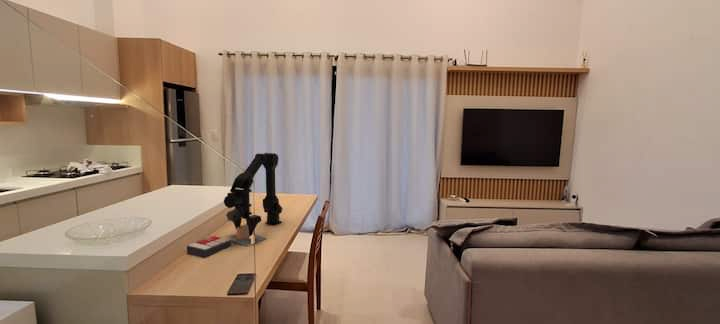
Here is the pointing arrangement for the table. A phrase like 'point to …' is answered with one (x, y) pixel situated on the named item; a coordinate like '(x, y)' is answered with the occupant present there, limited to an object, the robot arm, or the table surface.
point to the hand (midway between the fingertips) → (244, 233)
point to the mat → (247, 240)
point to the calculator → (208, 246)
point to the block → (242, 232)
